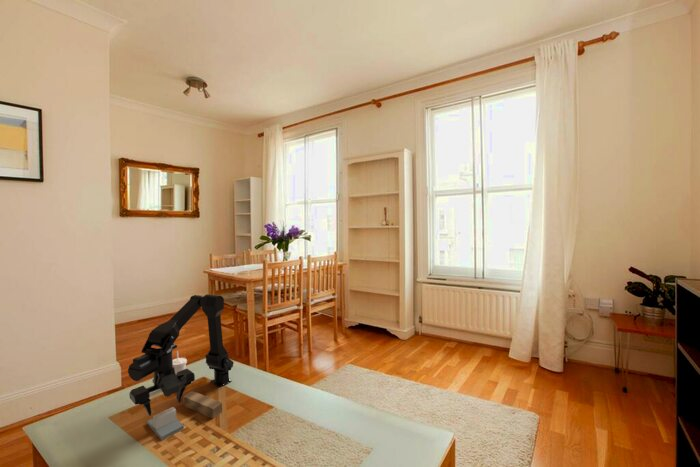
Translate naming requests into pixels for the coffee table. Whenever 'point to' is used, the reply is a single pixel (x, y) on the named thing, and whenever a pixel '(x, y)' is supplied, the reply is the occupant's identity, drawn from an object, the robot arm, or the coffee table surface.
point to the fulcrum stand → (165, 423)
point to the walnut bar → (202, 404)
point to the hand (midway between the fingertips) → (164, 408)
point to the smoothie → (179, 364)
